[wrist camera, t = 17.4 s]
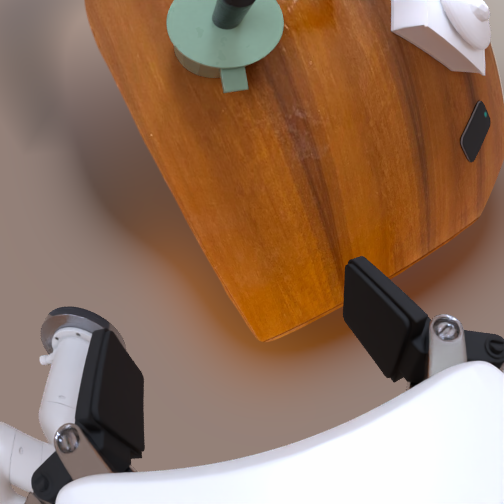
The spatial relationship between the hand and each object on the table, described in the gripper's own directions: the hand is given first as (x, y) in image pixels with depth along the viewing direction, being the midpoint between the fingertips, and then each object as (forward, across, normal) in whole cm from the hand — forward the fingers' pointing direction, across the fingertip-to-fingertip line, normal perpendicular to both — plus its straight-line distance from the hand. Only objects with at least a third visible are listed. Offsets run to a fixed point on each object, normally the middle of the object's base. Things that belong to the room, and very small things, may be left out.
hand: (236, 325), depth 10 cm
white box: (+27, -45, -26) cm, 58 cm away
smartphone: (+27, -60, -3) cm, 65 cm away
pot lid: (+19, -6, -17) cm, 26 cm away
